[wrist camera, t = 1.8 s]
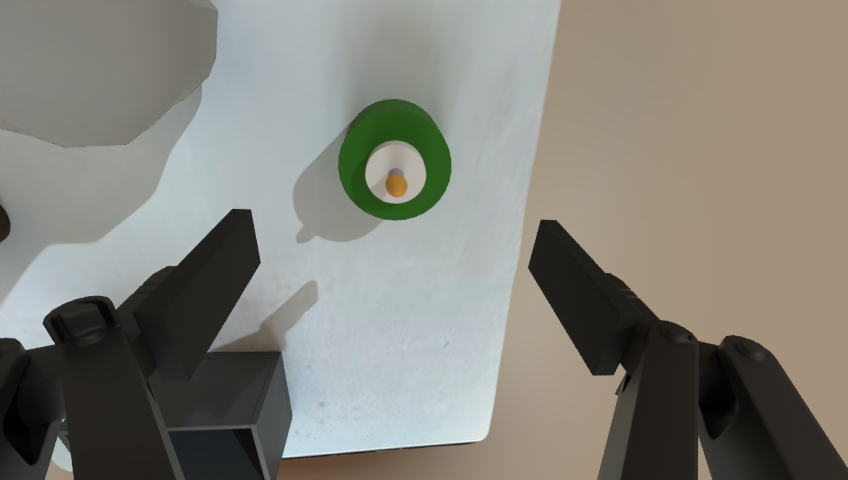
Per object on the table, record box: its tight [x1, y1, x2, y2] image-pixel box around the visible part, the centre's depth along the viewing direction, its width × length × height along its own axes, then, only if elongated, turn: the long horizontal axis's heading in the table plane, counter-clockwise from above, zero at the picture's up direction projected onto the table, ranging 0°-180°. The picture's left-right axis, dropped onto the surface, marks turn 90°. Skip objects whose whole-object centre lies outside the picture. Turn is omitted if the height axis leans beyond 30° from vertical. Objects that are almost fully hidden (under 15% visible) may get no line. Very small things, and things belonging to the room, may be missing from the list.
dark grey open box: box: [58, 352, 292, 480], centre depth 39 cm, size 17×12×9 cm
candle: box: [338, 99, 451, 220], centre depth 26 cm, size 8×8×10 cm
